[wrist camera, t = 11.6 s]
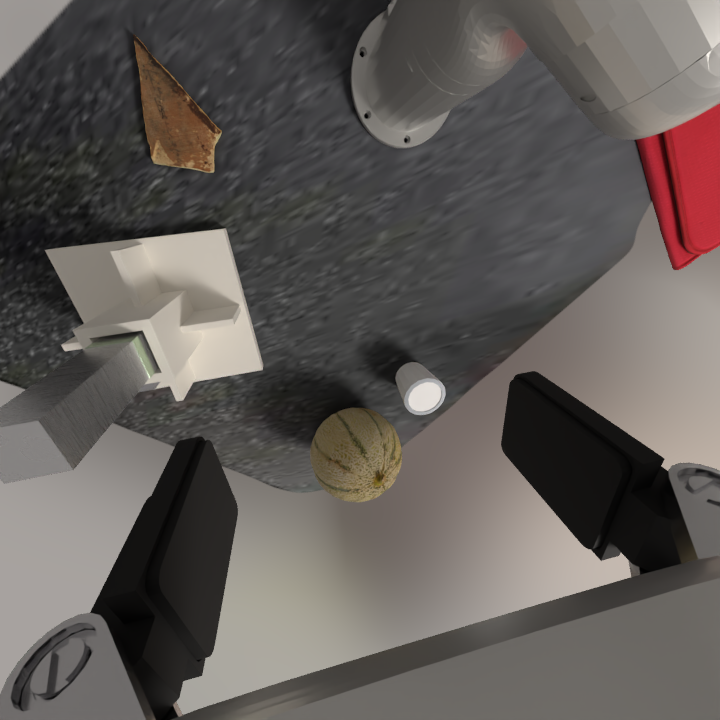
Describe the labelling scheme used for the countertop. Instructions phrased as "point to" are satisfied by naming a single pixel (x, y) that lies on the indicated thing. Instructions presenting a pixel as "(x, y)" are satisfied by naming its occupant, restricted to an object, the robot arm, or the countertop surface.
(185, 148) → the shard
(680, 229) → the dish drying mat
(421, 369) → the shot glass
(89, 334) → the cream stand
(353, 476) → the cantaloupe
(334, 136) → the countertop surface
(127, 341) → the steel post
